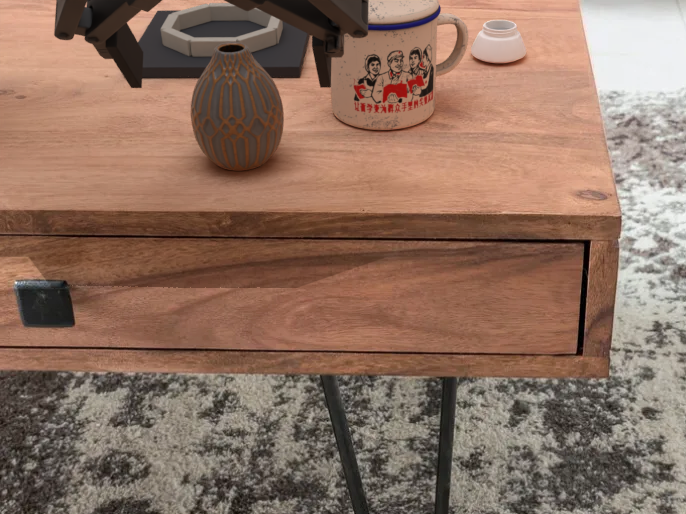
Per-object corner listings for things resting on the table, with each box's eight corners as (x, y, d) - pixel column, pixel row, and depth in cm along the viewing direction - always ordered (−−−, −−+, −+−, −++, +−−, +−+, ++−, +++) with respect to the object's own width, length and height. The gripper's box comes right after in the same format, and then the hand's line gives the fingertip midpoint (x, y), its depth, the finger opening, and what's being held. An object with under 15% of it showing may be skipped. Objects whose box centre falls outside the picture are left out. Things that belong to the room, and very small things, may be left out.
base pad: (123, 78, 95) (119, 50, 94) (158, 20, 108) (155, -5, 106) (299, 77, 94) (298, 50, 93) (313, 19, 107) (312, -6, 106)
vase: (221, 188, 77) (208, 72, 72) (181, 154, 82) (167, 43, 76) (302, 164, 80) (296, 51, 75) (260, 133, 85) (251, 25, 79)
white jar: (522, 47, 99) (469, 47, 99) (525, 15, 98) (471, 16, 98) (527, 66, 95) (472, 66, 95) (530, 34, 93) (474, 34, 94)
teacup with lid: (351, 140, 83) (347, -10, 76) (314, 99, 90) (307, -42, 83) (487, 116, 86) (496, -30, 79) (442, 78, 93) (446, -59, 86)
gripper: (-80, -38, 54) (56, 120, 75) (403, -43, 53) (405, 119, 74) (-69, -170, 55) (63, 21, 76) (405, -178, 54) (406, 19, 75)
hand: (231, 70), depth 75 cm, fingers open, 13 cm apart
